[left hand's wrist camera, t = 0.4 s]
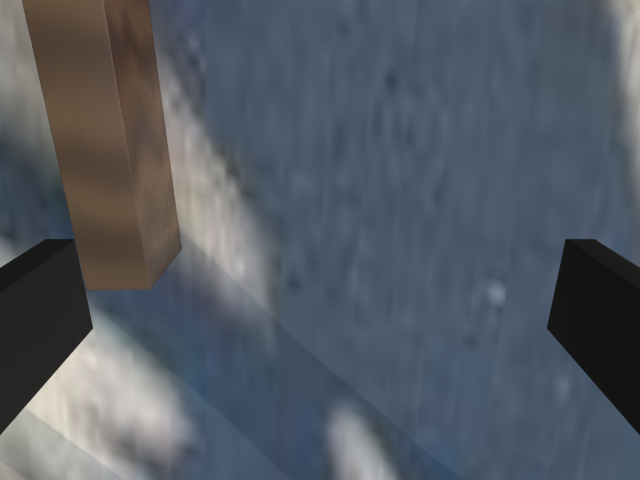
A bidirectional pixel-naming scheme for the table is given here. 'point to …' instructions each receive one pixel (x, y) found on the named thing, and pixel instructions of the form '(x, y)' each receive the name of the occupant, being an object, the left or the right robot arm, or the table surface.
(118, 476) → the table surface
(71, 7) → the beam
